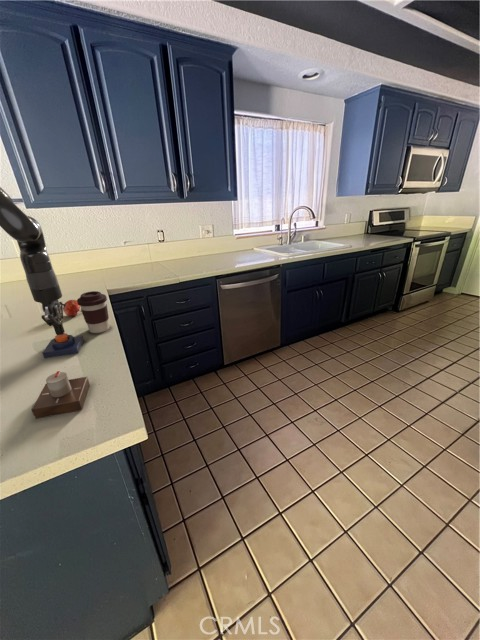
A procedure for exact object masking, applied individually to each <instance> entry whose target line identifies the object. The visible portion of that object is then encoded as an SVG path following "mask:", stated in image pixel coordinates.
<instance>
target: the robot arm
mask: <svg viewBox="0 0 480 640" xmlns="http://www.w3.org/2000/svg"><path fill="white" fill-rule="evenodd" d="M0 228H1V229H2V230H3V231H4V232H5V233H6V234H7V235H8V236H10V237H11V238H12V239H14V240H15V241H16V242H17V245H18V248H19V258H20V261H21V265H22V268H23V270H24V273H25V274H24V275H25V278H26V282H27V285H28V288H29V290H30V293H31V296H32V298H33V301H34V302H35V303H39V304H41V309H42V312H43V313H44V314H43V315H41V316H40V317H41V319H42V321H44V322H45V323H46V324H47V325H48V326H49V327H53V329H54V333H55V336H56V335H62V334H63V333H66V332H65V331H66V330H65V328H64V324H63V319H64V311H63V304H64V303H63V301H59V300H60V299H62V297H63V293H62V289H61V286H60V284H59V281H58V280H59V279H58V278H57V274H56V272H55V270H54V268H53V265H52V261H51V258H50V255H49V253H48V251H47V245H46V240H45V236H44V232H43V229H42V225H41V224H40V222H38V220H36V219H35V218H33V217H32V216H30V215H27V214H26V213H25V212H23V210H21V208H19V207H18V206H17V205H16V203H15V202H14V201H13V199H12V197H11V196H10V195H9V194H8V193H7V192H6V191H5V190H4V189H3V188H2V187H1V186H0Z"/></svg>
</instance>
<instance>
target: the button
mask: <svg viewBox="0 0 480 640" xmlns="http://www.w3.org/2000/svg"><path fill="white" fill-rule="evenodd" d="M67 335H68V333H66V332H64V333H63V334H62V335H56V334H55V336H54V338H55V340H56V342H63V341H66V340H68V336H67Z"/></svg>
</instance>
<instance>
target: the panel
mask: <svg viewBox="0 0 480 640" xmlns="http://www.w3.org/2000/svg"><path fill="white" fill-rule="evenodd" d="M69 382H70V385H71V391H70V392H69V393H68V394H66V395H64V396H61V397H53V396H52V395H51V393H50V390H49V388H48V385H47V383H45V384H44V386H43V388H42V390H41V392H40V393H39V395H38V397H37V399H36V401H35V403H34V404H33V406H32V408H31V411H32V414H33V416H34V419H35V420H37V419H42V418H47V417H53V416H58V415H64V414H68V413H73V412H79V411H82V410H83V409H84V406H85V401H86V398H87V396H88V392H89V389H90V386H91V384H90V381H89V378H88V376H83V377H75V378H72V379H70V378H69Z"/></svg>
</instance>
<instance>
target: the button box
mask: <svg viewBox="0 0 480 640" xmlns="http://www.w3.org/2000/svg"><path fill="white" fill-rule="evenodd" d="M67 336H68V340H66V341H63V342H56V340H55V337H54V338H52V339H50V341H49V343H48V344H47V345H46V347H45V348H44V350H43V351H42V356H43V358H44V359H49V358H56V357H63V356H69V355H71V356H72V355H76V354H79V353H80V350H81V348H82V346H83V344H84V342H85V339H84V336H83V335H78V336H73V334H67Z"/></svg>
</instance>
